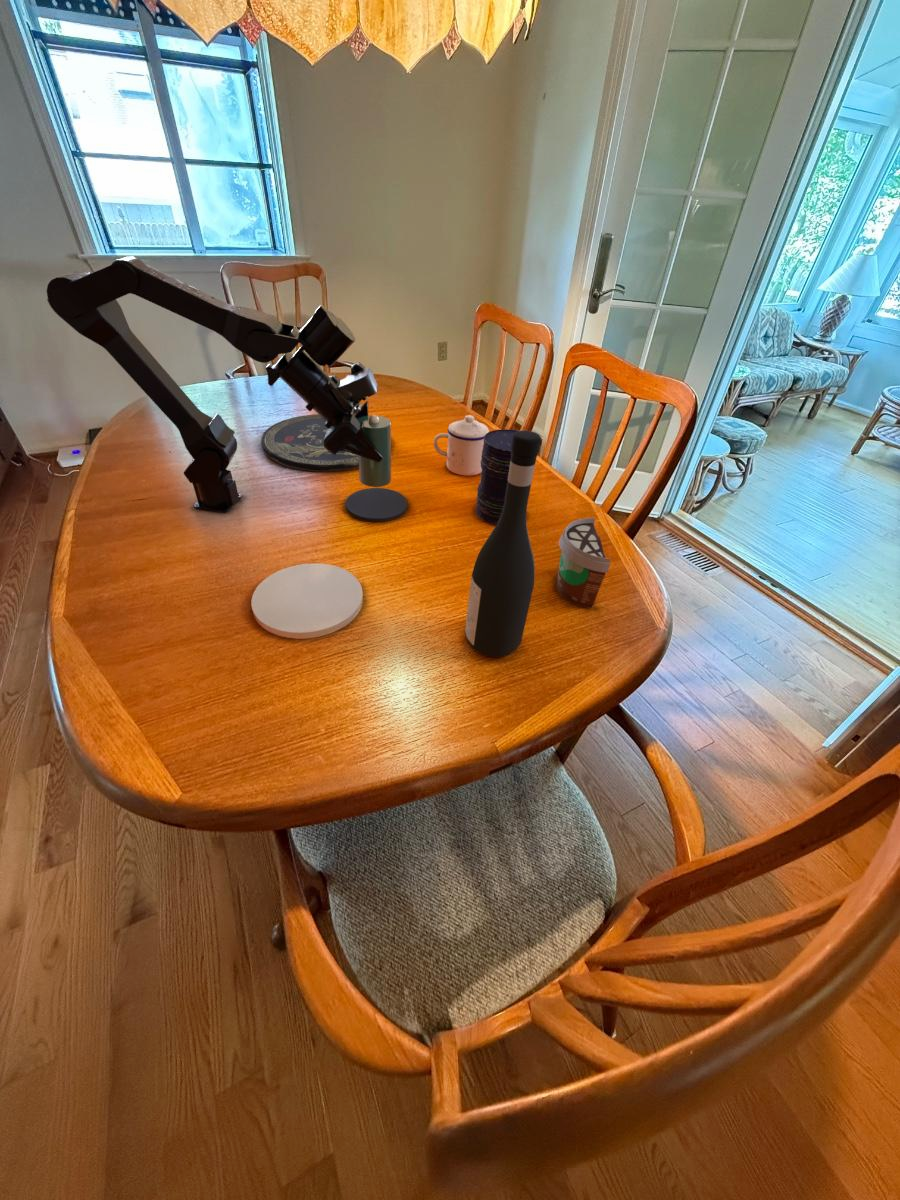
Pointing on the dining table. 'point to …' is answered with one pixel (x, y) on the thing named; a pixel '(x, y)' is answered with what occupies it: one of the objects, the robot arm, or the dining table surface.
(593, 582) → the food container
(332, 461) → the decorative plate
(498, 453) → the storage jar
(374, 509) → the coaster
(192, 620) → the dining table surface
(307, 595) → the saucer plate
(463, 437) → the teacup with lid
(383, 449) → the canister
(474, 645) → the wine bottle
